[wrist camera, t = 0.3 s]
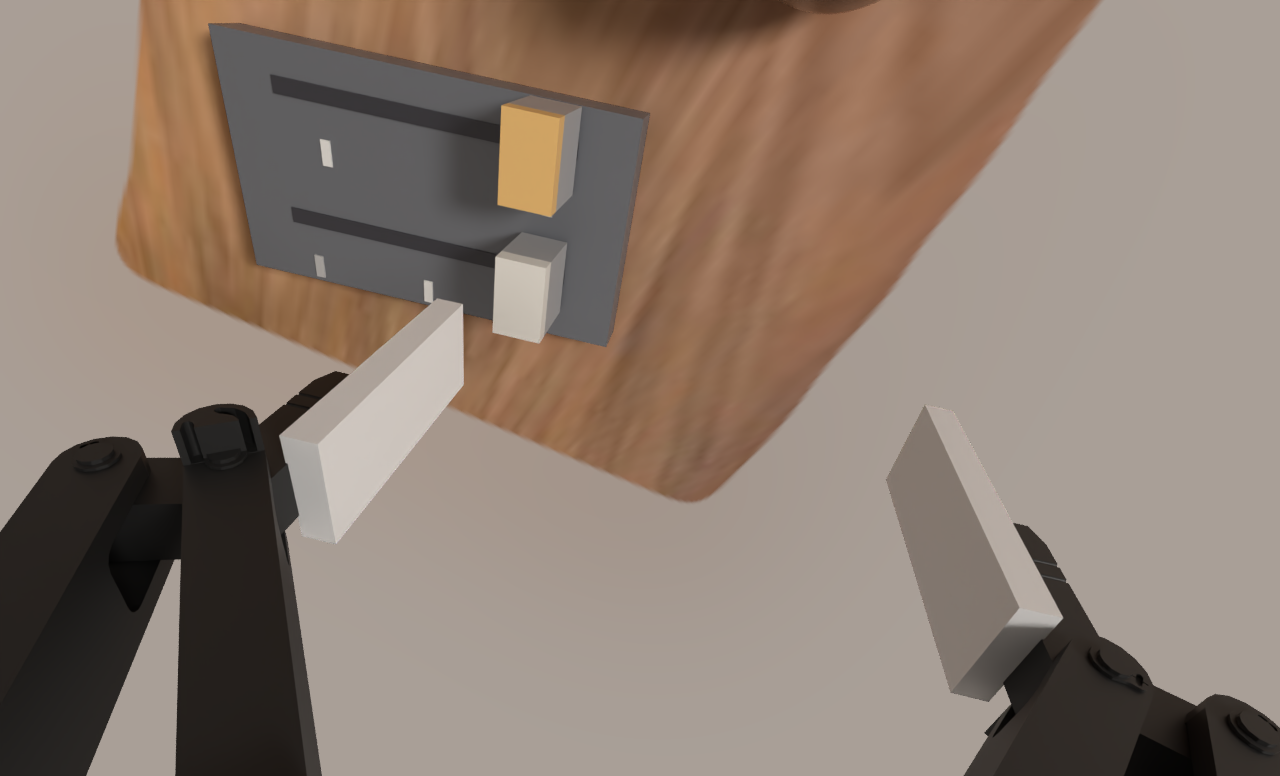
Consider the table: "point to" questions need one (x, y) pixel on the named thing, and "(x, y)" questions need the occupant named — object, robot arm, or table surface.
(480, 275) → the console
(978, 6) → the table surface
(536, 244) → the block
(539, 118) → the amber fader
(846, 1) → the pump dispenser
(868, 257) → the table surface
